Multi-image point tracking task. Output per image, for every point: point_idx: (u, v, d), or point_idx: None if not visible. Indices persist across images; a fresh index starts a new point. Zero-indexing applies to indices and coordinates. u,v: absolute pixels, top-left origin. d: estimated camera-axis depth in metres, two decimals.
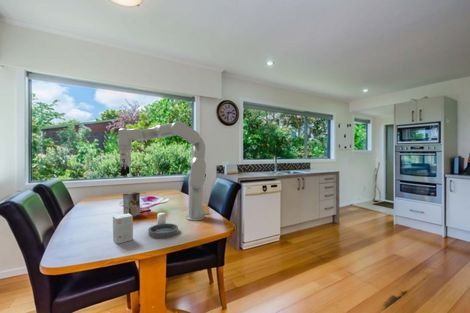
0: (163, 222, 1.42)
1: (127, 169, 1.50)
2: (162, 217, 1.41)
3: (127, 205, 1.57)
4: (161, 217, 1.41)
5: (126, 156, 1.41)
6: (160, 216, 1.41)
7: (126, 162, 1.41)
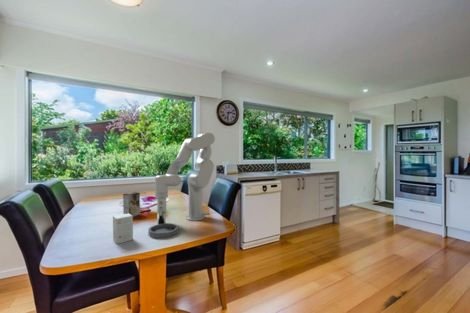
0: None
1: None
2: None
3: (127, 205, 1.57)
4: None
5: (164, 204, 1.39)
6: None
7: (164, 210, 1.39)
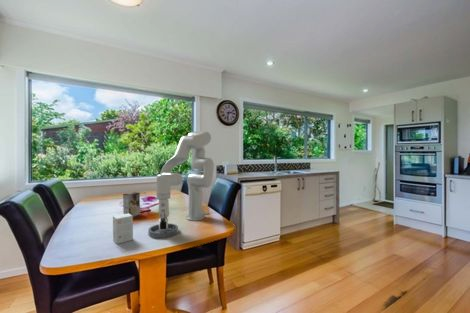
0: (165, 229, 1.28)
1: None
2: None
3: (127, 205, 1.57)
4: None
5: (166, 206, 1.25)
6: None
7: (166, 213, 1.25)
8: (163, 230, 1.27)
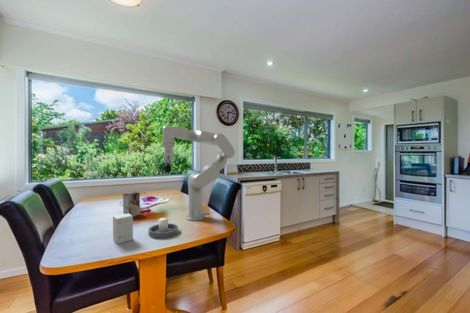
0: (165, 229, 1.28)
1: (169, 166, 1.53)
2: (164, 223, 1.27)
3: (127, 205, 1.57)
4: (163, 223, 1.27)
5: (171, 153, 1.44)
6: (162, 222, 1.27)
7: (171, 159, 1.44)
8: (163, 230, 1.27)
